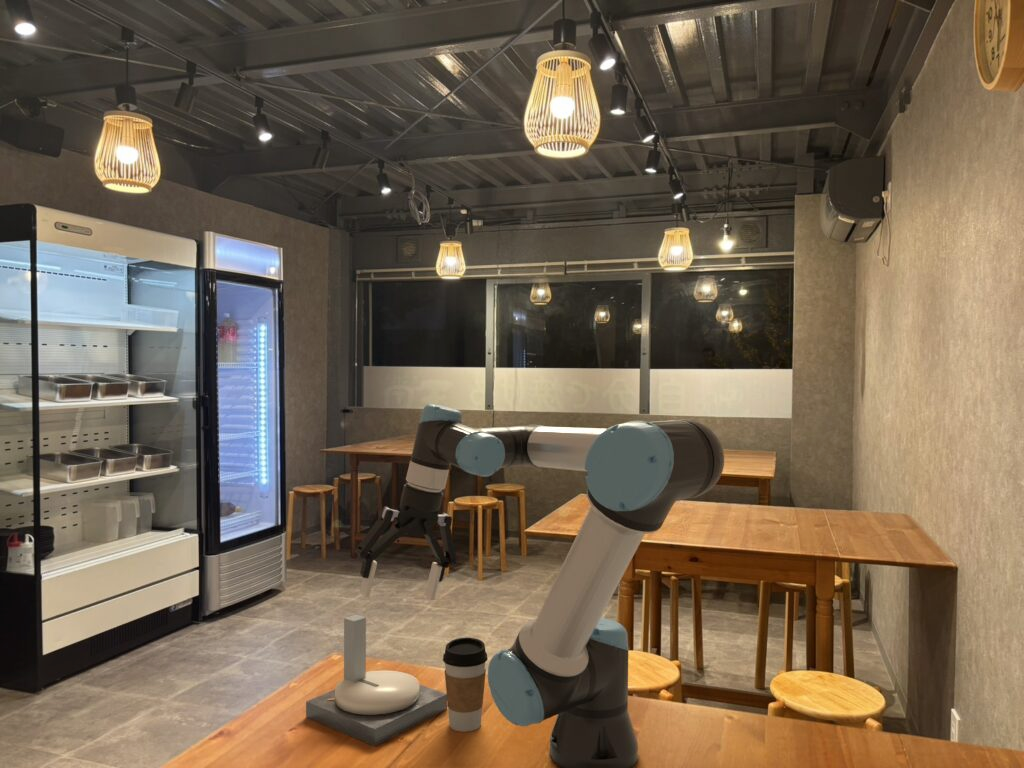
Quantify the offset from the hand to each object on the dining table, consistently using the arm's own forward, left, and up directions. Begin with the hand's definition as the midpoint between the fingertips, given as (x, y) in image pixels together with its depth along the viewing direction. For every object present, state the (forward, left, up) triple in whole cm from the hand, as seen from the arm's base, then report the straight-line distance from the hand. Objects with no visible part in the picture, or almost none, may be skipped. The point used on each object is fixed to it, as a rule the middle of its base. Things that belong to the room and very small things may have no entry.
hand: (397, 596), depth 143 cm
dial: (+6, -1, -21) cm, 21 cm away
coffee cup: (-11, -7, -24) cm, 27 cm away
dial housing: (+6, -1, -24) cm, 24 cm away
